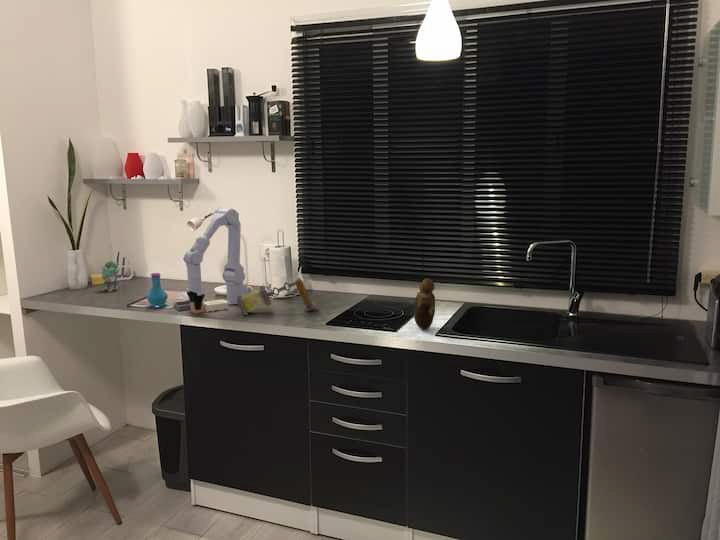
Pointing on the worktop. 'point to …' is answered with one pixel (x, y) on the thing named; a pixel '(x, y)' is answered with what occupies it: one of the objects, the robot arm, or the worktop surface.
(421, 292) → the sculpture
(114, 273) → the toy
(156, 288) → the perfume bottle
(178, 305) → the tray
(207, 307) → the block
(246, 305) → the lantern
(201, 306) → the stub
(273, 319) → the worktop surface
